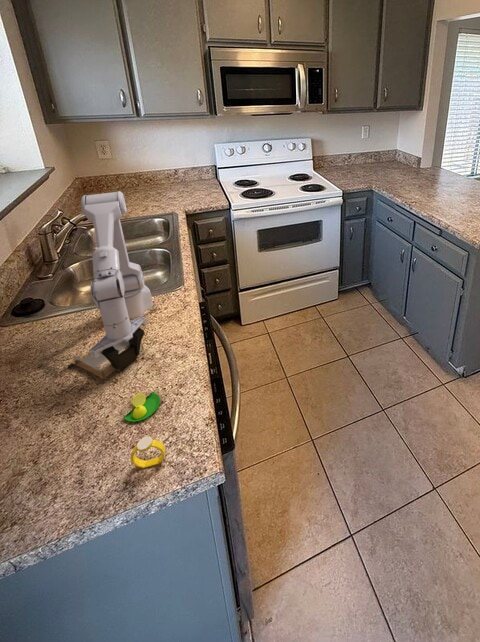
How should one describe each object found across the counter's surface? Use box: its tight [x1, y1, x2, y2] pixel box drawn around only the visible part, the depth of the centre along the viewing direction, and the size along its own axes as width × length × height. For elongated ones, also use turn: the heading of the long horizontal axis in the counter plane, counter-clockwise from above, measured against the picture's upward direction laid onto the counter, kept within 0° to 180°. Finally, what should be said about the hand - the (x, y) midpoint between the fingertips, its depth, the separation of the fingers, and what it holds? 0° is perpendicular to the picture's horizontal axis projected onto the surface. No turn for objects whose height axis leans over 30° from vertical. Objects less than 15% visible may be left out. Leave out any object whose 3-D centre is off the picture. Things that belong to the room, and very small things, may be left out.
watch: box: [130, 435, 166, 469], centre depth 71 cm, size 6×3×6 cm, turn 103°
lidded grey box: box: [72, 341, 144, 380], centre depth 98 cm, size 14×12×5 cm
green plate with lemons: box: [123, 392, 161, 422], centre depth 83 cm, size 8×8×3 cm
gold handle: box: [67, 362, 76, 369], centre depth 101 cm, size 1×15×1 cm, turn 154°
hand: (126, 361), depth 95 cm, fingers closed on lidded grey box, 5 cm apart
